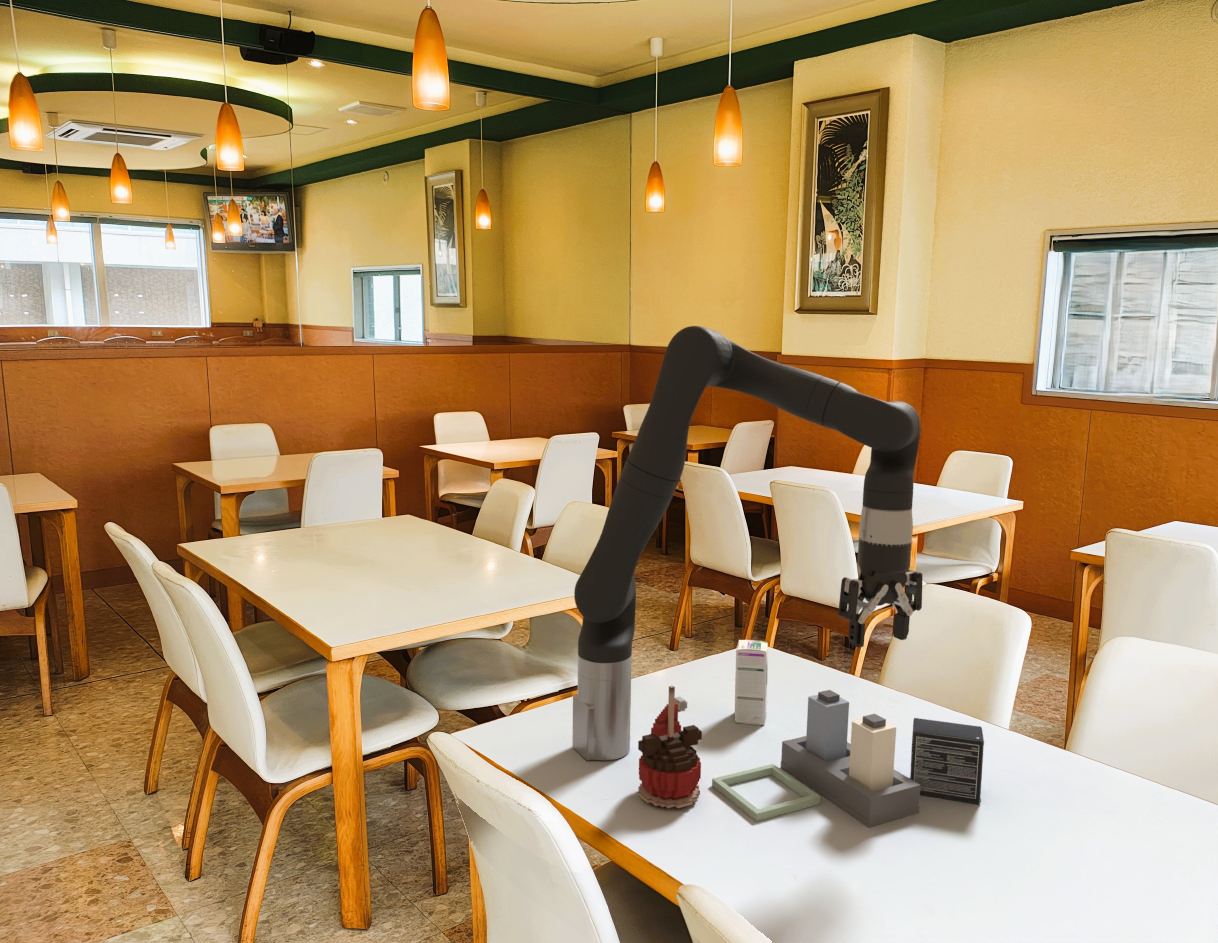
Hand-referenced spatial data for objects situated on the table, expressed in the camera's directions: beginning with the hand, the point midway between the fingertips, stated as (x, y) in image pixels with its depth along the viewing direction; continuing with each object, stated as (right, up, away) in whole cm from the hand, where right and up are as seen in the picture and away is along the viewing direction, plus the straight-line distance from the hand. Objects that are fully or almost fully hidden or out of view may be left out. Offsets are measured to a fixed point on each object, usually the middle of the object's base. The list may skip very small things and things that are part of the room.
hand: (878, 642), depth 136 cm
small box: (+13, -26, +9) cm, 30 cm away
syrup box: (-14, -21, +35) cm, 43 cm away
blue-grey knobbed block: (-5, -23, +13) cm, 27 cm away
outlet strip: (-3, -25, +8) cm, 27 cm away
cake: (-31, -25, +5) cm, 41 cm away
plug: (0, -25, +4) cm, 25 cm away
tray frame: (-16, -25, +6) cm, 30 cm away
